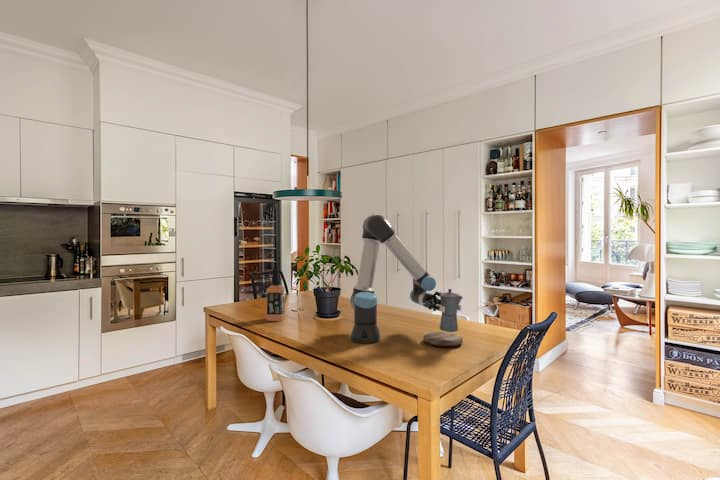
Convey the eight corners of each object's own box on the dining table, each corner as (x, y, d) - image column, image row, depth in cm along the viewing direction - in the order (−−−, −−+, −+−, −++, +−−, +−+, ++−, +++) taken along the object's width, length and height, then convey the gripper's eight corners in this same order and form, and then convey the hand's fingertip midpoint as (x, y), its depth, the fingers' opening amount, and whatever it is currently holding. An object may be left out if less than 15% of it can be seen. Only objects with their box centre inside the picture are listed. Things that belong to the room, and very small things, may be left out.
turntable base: (422, 342, 188) (422, 340, 188) (440, 337, 197) (440, 335, 197) (445, 349, 177) (445, 346, 177) (463, 343, 186) (463, 341, 186)
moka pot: (460, 334, 175) (459, 291, 174) (429, 330, 183) (428, 289, 182) (466, 328, 183) (465, 288, 182) (436, 324, 191) (435, 286, 190)
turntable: (415, 339, 188) (415, 336, 188) (439, 332, 200) (439, 330, 200) (446, 348, 174) (446, 345, 174) (470, 340, 186) (470, 338, 186)
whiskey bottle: (281, 321, 230) (281, 269, 229) (265, 321, 230) (265, 269, 229) (285, 317, 240) (285, 267, 239) (270, 317, 240) (269, 267, 239)
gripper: (445, 305, 204) (471, 314, 183) (410, 308, 197) (432, 318, 176) (445, 292, 204) (471, 299, 183) (410, 294, 197) (432, 302, 176)
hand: (452, 308), depth 179 cm, fingers closed on moka pot, 8 cm apart
